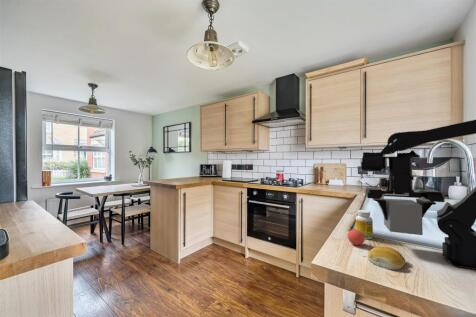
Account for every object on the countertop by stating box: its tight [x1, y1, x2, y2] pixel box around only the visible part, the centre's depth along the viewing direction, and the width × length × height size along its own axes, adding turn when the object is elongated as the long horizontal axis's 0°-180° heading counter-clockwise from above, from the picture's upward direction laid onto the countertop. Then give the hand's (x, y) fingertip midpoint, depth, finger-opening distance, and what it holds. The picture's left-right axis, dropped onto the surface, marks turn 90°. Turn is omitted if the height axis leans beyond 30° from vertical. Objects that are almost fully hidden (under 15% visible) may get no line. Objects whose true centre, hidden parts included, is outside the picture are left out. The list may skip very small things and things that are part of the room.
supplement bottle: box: [355, 209, 374, 240], centre depth 73 cm, size 5×5×10 cm
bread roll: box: [366, 246, 406, 271], centre depth 56 cm, size 8×9×4 cm
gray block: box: [383, 198, 424, 236], centre depth 63 cm, size 8×8×9 cm
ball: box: [347, 228, 366, 246], centre depth 67 cm, size 5×5×5 cm
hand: (401, 221), depth 63 cm, fingers closed on gray block, 8 cm apart
